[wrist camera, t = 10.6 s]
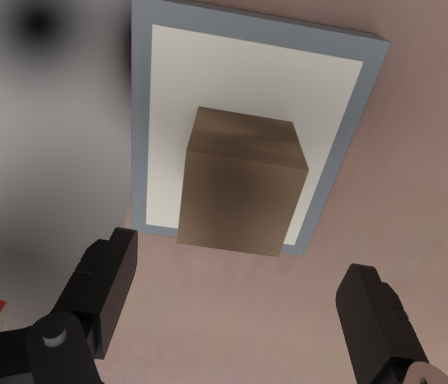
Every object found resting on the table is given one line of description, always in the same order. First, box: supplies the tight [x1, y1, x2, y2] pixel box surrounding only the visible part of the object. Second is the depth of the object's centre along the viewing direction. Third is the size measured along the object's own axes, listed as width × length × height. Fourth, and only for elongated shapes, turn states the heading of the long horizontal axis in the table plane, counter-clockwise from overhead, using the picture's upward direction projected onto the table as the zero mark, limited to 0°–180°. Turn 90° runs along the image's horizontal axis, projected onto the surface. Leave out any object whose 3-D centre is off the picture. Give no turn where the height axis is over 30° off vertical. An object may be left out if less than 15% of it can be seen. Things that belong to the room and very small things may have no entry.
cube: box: [176, 106, 309, 257], centre depth 17 cm, size 5×5×5 cm
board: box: [132, 0, 391, 255], centre depth 20 cm, size 12×14×2 cm
